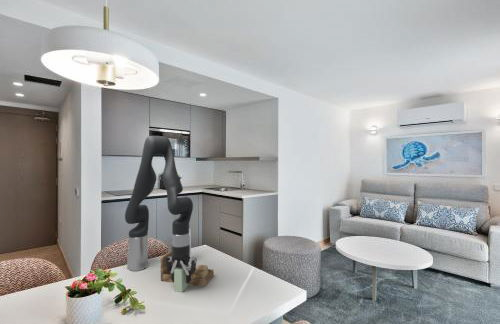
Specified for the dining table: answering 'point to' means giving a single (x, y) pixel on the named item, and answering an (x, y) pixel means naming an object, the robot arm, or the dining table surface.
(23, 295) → the dining table surface
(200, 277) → the offcut
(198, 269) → the offcut
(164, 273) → the rack
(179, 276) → the pale green block
